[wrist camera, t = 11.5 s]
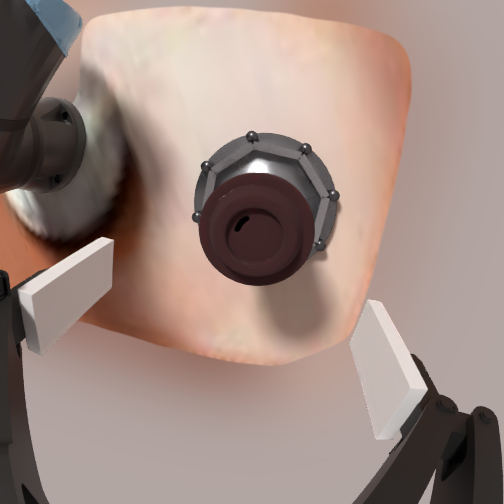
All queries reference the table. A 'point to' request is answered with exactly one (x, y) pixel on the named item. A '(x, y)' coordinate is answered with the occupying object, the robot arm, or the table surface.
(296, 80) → the table surface
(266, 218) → the coffee cup
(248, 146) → the grey flat octagonal tray
